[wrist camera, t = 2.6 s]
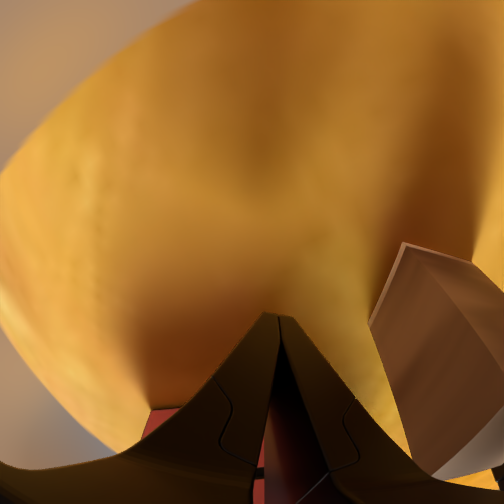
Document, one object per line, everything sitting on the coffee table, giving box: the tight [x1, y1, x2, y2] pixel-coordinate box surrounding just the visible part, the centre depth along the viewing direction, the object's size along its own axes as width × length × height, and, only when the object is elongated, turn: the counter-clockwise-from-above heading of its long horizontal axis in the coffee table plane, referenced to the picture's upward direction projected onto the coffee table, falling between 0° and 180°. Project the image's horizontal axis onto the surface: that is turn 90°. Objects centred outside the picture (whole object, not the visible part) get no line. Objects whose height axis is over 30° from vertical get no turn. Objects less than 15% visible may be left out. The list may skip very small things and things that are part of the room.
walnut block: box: [368, 242, 504, 481], centre depth 9 cm, size 4×4×8 cm
